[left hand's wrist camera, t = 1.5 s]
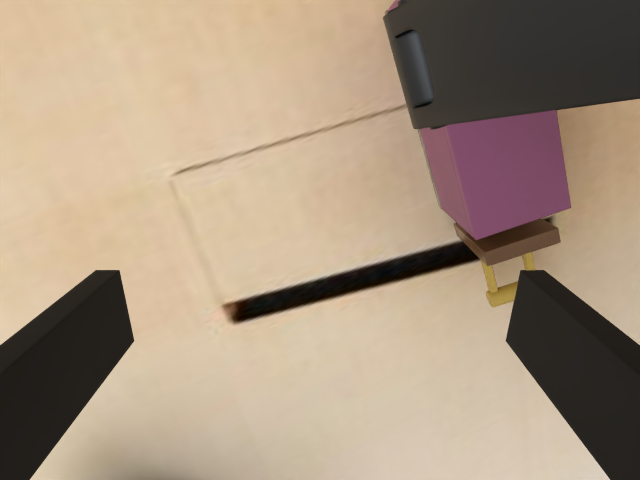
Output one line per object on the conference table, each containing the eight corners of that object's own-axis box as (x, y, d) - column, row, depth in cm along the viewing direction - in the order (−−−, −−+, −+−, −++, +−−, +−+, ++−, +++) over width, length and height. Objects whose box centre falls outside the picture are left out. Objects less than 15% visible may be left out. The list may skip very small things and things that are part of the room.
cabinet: (512, 181, 33) (571, 208, 26) (439, 207, 34) (475, 240, 26) (470, -24, 28) (529, -71, 20) (384, 12, 29) (409, -19, 21)
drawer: (527, 272, 36) (572, 310, 29) (471, 290, 36) (503, 331, 30) (478, 33, 28) (522, 15, 22) (409, 61, 29) (434, 51, 23)
